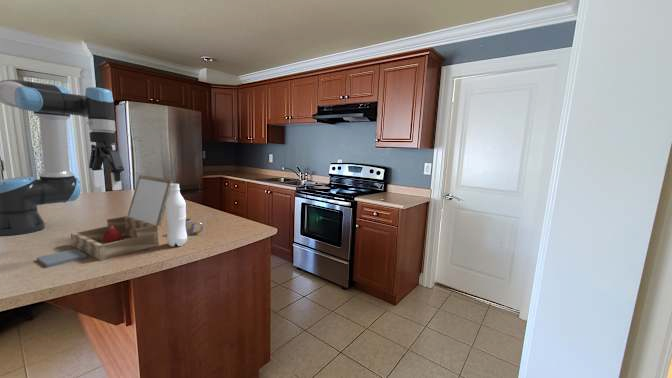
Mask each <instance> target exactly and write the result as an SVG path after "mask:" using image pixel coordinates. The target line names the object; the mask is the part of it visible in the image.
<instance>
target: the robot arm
mask: <svg viewBox="0 0 672 378" xmlns="http://www.w3.org/2000/svg"><path fill="white" fill-rule="evenodd" d="M0 103H1V104H3V105H5V106H6V105H7V106H10V107H13V108H18V109H19V110H21V111H29V112H33V114H34V116H36V118H38V121H39V130H40V140H41V141H40V142H41V151H42V161H43V162H42V163H43V172H42V173H40V174H39V179H35V178H34V177H33V176H20V177H19V176H18V177H11V178H4V179H0V236H16V235H23V234H29V233H36V232H38V231H41V230H43V229H45V228H46V225H45V224H46V223H45V220H43V218H42V216H41V215H40V213H39V210H38V206H42V205H52V204H60V203H63V204H65V203H69V202H74V201H76V200H77V199H79V197H80V195H81V193H82V192H81V190H82V184H81V181H80V179H79V177H76V176H75V173H73V172H71V170H70V157H69V144H68V132H67V131H68V129H67V120H69V119H70V118H71V116H80V117H83V118H87V120H88V121H86V123H87V125H88V130H89V131H90V132H89V141H90V142H91V143H95V144H91V145H90V149H91V150H90V151H91V152H90V159H89V164H88V168H89V169H91V171H92V176H93V187H94V188H102V187H104V176H103V168H102V166H103V163H104V160H106V162H107V164H108V166H109V168H110V173H109V174H110V179H111V188H112V191H122V190H123V185H122V184H123V183H122V174H121V173H122V171H123V172H124V171H125V167H124V164H123V161H122V158H121V155H120V154H119V150H118V149H119V147H118V145H117V144H116V143H117V134H116V133H115V132H116V131H117V130H116V121H115V109H114V98H113V92H112V91H111V90H110V89H107V88H101V87H94V86H89V87H86V88H85V93H84V95H81V94H75V93H71V91H70V90H69V89H68V88H66V87H64V86H59V85H54V84H49V83H41V82H35V81H34V82H33V81H28V80H22V79H4V80H0Z"/></svg>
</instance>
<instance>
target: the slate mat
mask: <svg viewBox="0 0 672 378" xmlns="http://www.w3.org/2000/svg"><path fill="white" fill-rule="evenodd" d="M86 258H88V254H87V253H85V252H84V251H82V250H80V249H78V248H73V249H68V250H64V251H58V252H55V253H50V254H46V255H42V256H37V257H36V261H37V262H39V263H40V264H41V265H43V266H45V267H46V268H51V267H54V266H55V267H56V266H59V265H63V264H66V263H71V262H74V261H78V260H83V259H86Z"/></svg>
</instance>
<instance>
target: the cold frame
mask: <svg viewBox="0 0 672 378" xmlns="http://www.w3.org/2000/svg"><path fill="white" fill-rule="evenodd" d="M106 221H107V222H106V223H107V226H104V227H103V226H102V227H97V228H90V229H87V230H80V231H75V232H71V233H70V238H71V239H70V240H71V246H72V247H74V248H75V249H77V250H79V251H81V252H83V253H85V254H86V255H89V256H91V257H93V258H95V259H97V260H99V261H103V260H106V259H107V260H108V259H110V258H115V257H119V256H122V255H125V254H129V253H134V252H137V251H141V250H144V249H148V248H152V247H156V246H159V229H158V228H159V226H157V225H154V224H151V223H147V222H144V221H141V220H138V219H135V218H131V217H128V215H127V216H126V215H125V216H120V217H115V218H107V219H106ZM111 226H114V228H115V229H117V230H119V231H120V232H121V234H122V237H123V236H127V237H130V238H125V239H121V240H120V241H116V242H111V243H107V244H106V243H100V242H99V241H103V234H104V233H105V232H106V231H107V230H108V229H109V228H110V227H111Z"/></svg>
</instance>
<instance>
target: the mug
mask: <svg viewBox="0 0 672 378" xmlns="http://www.w3.org/2000/svg"><path fill="white" fill-rule="evenodd" d="M196 224H198V225H200V229H198V230H195V229H196ZM185 227H186V233H187V236H190V234H191V235H195V234H199V233H201V232H202V231H203V230H204V225H203V223H202V222H200V221H195V222H194V221H193V220H192V219H191V218H186V221H185Z"/></svg>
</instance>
